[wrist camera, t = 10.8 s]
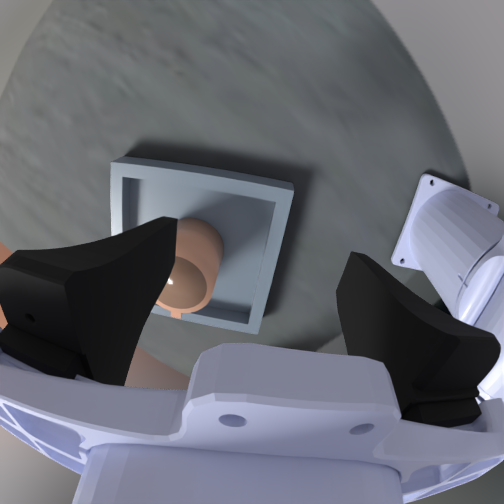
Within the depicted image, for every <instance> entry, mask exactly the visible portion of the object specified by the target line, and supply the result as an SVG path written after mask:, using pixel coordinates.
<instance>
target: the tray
mask: <svg viewBox="0 0 504 504" xmlns="http://www.w3.org/2000/svg"><path fill="white" fill-rule="evenodd" d="M293 195H294V187H293V183H291V182H286V181H281V180H276V179H271V178H266V177H261V176H256V175H251V174H245V173H240V172H234V171H228V170H222V169H216V168H210V167H204V166H197V165H191V164H184V163H177V162H169V161H161V160H153V159H145V158H136V157H127V156H123V157H121V158H118V159H116V160H114V161H112V162H111V230H112V236H114V235H117V234H119V233H122V232H124V231H127V230H130V229H132V228H135V227H137V226H139V225H142V224H144V223H146V222H149V221H151V220H153V219H156V218H159V217H162V216H166V217H172V218H178V220H180V219H184V218H196V219H200V220H203V221H205V222H207V223H209V224H210V225H212V226H213V227H214V228H215V229H216V230H217V231H218V233H219V234H220V236H221V238H222V240H223V243H224V255H223V259H222V262H221V266H220V269H219V273H218V276H217V280H216V283H215V287H214V290H213V294H212V297H211V299H210V301H209V302H208V304H207V305H206V306H204V307H203V308H202V309H200V310H198V311H195V312H191V313H183V314H182V317H181V320H186V321H190V322H195V323H200V324H204V325H209V326H214V327H219V328H224V329H230V330H235V331H240V332H246V333H252V334H257V335H258V331H259V328H260V324H261V320H262V317H263V313H264V309H265V305H266V302H267V298H268V294H269V290H270V286H271V283H272V279H273V275H274V271H275V267H276V263H277V259H278V255H279V251H280V247H281V243H282V239H283V235H284V231H285V227H286V223H287V219H288V215H289V211H290V207H291V203H292V199H293ZM151 313H155V314H160V315H164V316H168V317H171V311H169V310H167V309H164V308H162V307H160V306H159V305H157V304H156V303H155V305H154V307H153V309H152V311H151ZM172 318H175V317H172ZM177 319H179V318H177Z"/></svg>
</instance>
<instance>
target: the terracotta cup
mask: <svg viewBox="0 0 504 504" xmlns="http://www.w3.org/2000/svg"><path fill="white" fill-rule="evenodd" d="M223 255H224V243H223V240H222V238H221V236H220V234H219V233H218V231H217V230H216V229H215V228H214V227H213V226H212V225H210V224H209V223H207V222H205V221H203V220H200V219H196V218H184V219H180V220H178V223H177V238H176V256H175V264H174V266H173V269H172V272H171V274H170V277H169V279H168V281H167V283H166V285H165V287H164V289H163V291H162V293H161V294H160V296H159V298H158V300H157V302H156V304H157V305H159V306H160V307H162V308H164V309H167V310H169V311H171V317H175V318H179V319H181V317H182V314H183V313H191V312H195V311H198V310H200V309H202V308H203V307H204V306H206V305H207V304H208V302H209V301H210V299H211V297H212V294H213V290H214V287H215V283H216V280H217V276H218V273H219V269H220V266H221V262H222V259H223Z"/></svg>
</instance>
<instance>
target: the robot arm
mask: <svg viewBox="0 0 504 504" xmlns="http://www.w3.org/2000/svg"><path fill="white" fill-rule="evenodd" d="M431 180H433V183H432V184H431V185H430V181H431ZM488 205H489V207H488ZM498 212H499V205H498V204H496V203H495V202H492V201H490V200H488V199H486V198H484V197H482V196H480V195H477V194H475V193H473V192H471V191H469V190H466V189H464V188H462V187H459V186H457V185H455V184H452V183H450V182H447V181H445V180H442V179H440V178H437V177H435V176H432V175H430V174H426V173H425V174H423V175H422V176H421V178H420V181H419V185H418V188H417V191H416V194H415V197H414V199H413V202H412V205H411V208H410V211H409V214H408V216H407V219H406V222H405V224H404V227H403V230H402V232H401V235H400V237H399V240H398V242H397V245H396V247H395V250H394V252H393V254H392V257H391V261H392V263H393V264H395V265H398V266H403V267H408V268H412V269H417V270H422V271H424V272H425V274H426V275H427V277H428V278H429V280H430V281H431V283H432V284H433V286H434V287H435V289H436V290H437V292H438V293H439V295H440V296H441V298H442V299H443V301H444V302H445V304H446V306H447V307H448V309H449V310H450V312H451V314H452V315H453V317H452V316H450V315H448V314H446V313H444V312H443V311H441V310H439V309H437V308H436V307H434V306H432V305H431V304H429V303H427V302H426V301H425V300H423V299H422V298H420V297H419V296H417V295H416V294H415V293H413V292H412V291H411V290H409V289H408V288H407V287H405V286H404V285H403V284H402V283H400V282H399V281H398V280H397V279H396V278H394V277H393V276H392V275H391V274H390V273H388V272H387V271H386V270H385V269H384V268H383V267H381V266H380V265H379V264H378V263H376V262H375V261H374V260H373V259H371V258H370V257H368V256H367V255H365V254H361V253H357V252H352V251H351V253H350V256H349V259H348V261H347V264H346V267H345V269H344V272H343V275H342V277H341V280H340V282H339V285H338V287H337V290H336V297H337V308H338V314H339V318H340V322H341V326H342V330H343V335H344V339H345V343H346V347H347V352H348V355H338V354H329V353H319V352H311V351H303V350H295V349H287V348H280V347H273V346H267V345H260V344H254V343H223V344H220V345H218V346H216V347H213V348H211V349H209V350H206V351H204V352H202V353H201V355H200V356H199V358H198V360H197V362H196V363H195V365H194V367H193V371H192V375H191V379H190V383H189V387H188V390H167V389H150V388H137V387H126V386H124V384H125V381H126V377H127V374H128V371H129V367H130V364H131V361H132V358H133V354H134V351H135V348H136V346H137V343H138V340H139V337H140V335H141V332H142V329H143V327H144V325H145V322H146V320H147V318H148V316H149V314H150V313H151V311H152V309H153V307H154V305H155V303H156V302H157V300H158V298H159V296H160V294H161V293H162V291H163V289H164V287H165V285H166V283H167V281H168V279H169V277H170V274H171V272H172V269H173V266H174V264H175V256H176V238H177V223H178V218H172V217H166V216H162V217H159V218H156V219H153V220H151V221H149V222H146V223H144V224H142V225H139V226H137V227H135V228H132V229H130V230H127V231H124V232H122V233H119V234H117V235H114V236H111V237H108V238H105V239H102V240H98V241H95V242H91V243H86V244H81V245H76V246H71V247H64V248H56V249H44V250H17V251H15V252H14V253H13V254H12V255H11V256H10V257H8V258H7V259H6V260H5V261H4V262H3V263H2V264H0V305H1V307H2V310H3V312H4V315H5V318H6V320H7V322H8V324H7V326H6V327H5V328H4V329H3V330H2V328H1V327H0V426H2V427H3V428H5V429H6V430H7V431H9V432H10V433H12V434H13V435H15V436H16V437H17V438H19V439H20V440H22V441H23V442H25V443H26V444H28V445H30V446H31V447H33V448H34V449H36V450H37V451H39V452H41V453H42V454H44V455H46V456H47V457H49V458H51V459H52V460H54V461H56V462H58V463H60V464H61V465H63V466H65V467H67V468H69V469H71V470H73V471H75V472H77V473H79V474H81V478H80V481H79V484H78V487H77V490H76V493H75V496H74V499H73V502H72V504H405V503H408V502H412V501H415V500H418V499H421V498H425V497H428V496H430V495H434V494H436V493H439V492H442V491H444V490H448V489H450V488H453V487H456V486H458V485H461V484H464V483H466V482H469V481H471V480H474V479H476V478H478V477H479V476H481V475H483V474H484V473H486V472H487V471H489V470H490V469H492V468H493V467H494V466H496V465H497V464H499V463H500V462H501V461H503V460H504V222H503V221H502V220H501V219H500V218H498V217H497V214H498ZM402 258H404V259H403V261H400V260H401V259H402Z"/></svg>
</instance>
